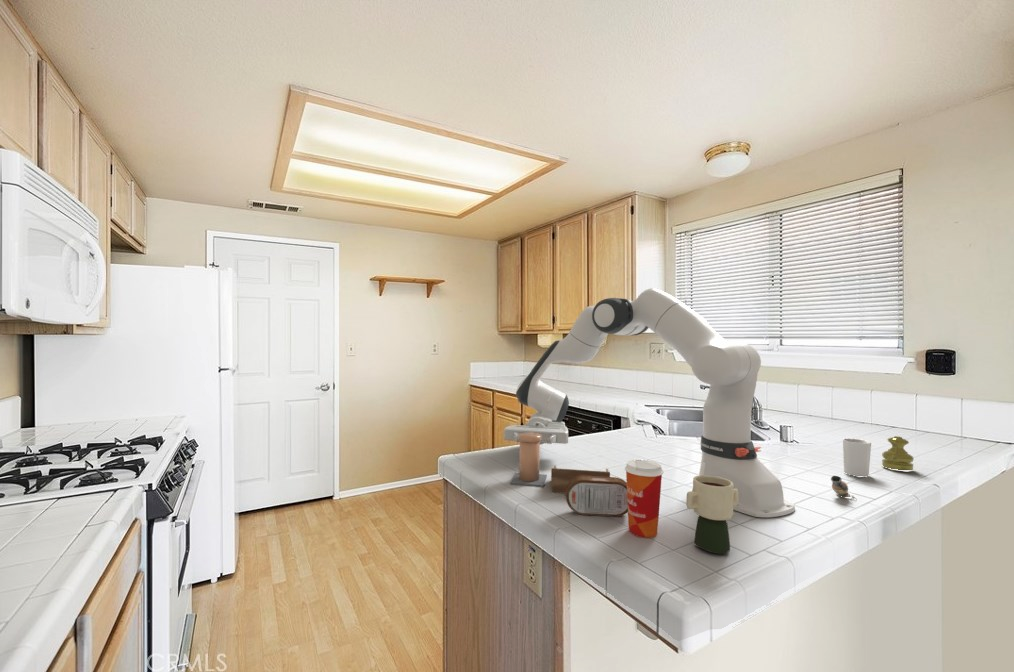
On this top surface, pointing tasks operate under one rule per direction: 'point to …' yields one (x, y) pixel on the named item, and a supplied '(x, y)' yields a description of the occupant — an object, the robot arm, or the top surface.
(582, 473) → the wooden u-shaped open frame
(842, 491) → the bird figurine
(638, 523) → the paper cup
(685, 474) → the top surface
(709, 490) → the character mug
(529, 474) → the peach capped cylinder
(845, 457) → the white cup
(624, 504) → the tin
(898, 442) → the gold chess piece
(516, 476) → the slate mat
